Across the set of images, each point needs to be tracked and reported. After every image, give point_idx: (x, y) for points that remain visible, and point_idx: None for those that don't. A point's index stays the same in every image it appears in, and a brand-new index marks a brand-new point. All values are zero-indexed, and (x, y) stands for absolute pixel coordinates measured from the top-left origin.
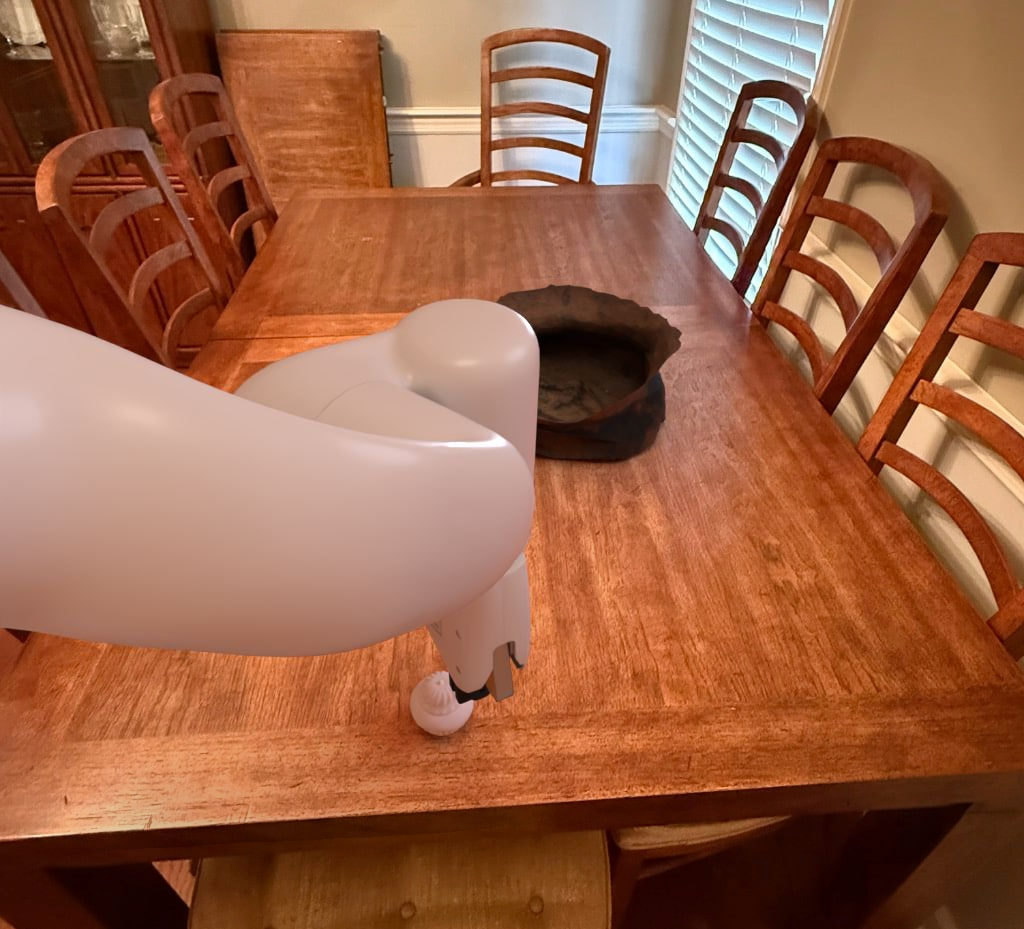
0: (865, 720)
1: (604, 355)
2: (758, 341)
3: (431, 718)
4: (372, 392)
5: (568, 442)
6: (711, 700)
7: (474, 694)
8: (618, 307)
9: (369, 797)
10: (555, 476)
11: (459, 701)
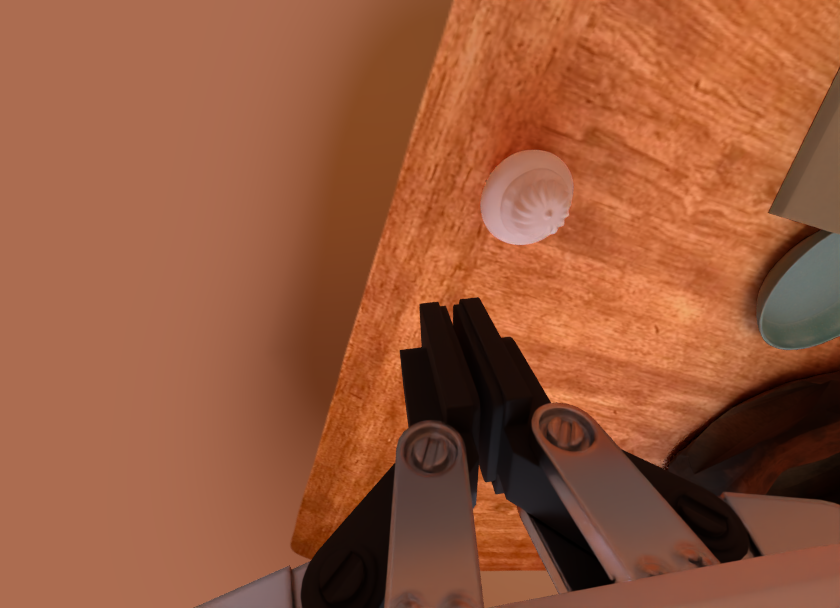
0: (344, 503)
1: (795, 495)
2: None
3: (508, 178)
4: None
5: (734, 434)
6: (403, 430)
7: (402, 370)
8: None
9: (456, 41)
10: (705, 401)
11: (421, 310)
